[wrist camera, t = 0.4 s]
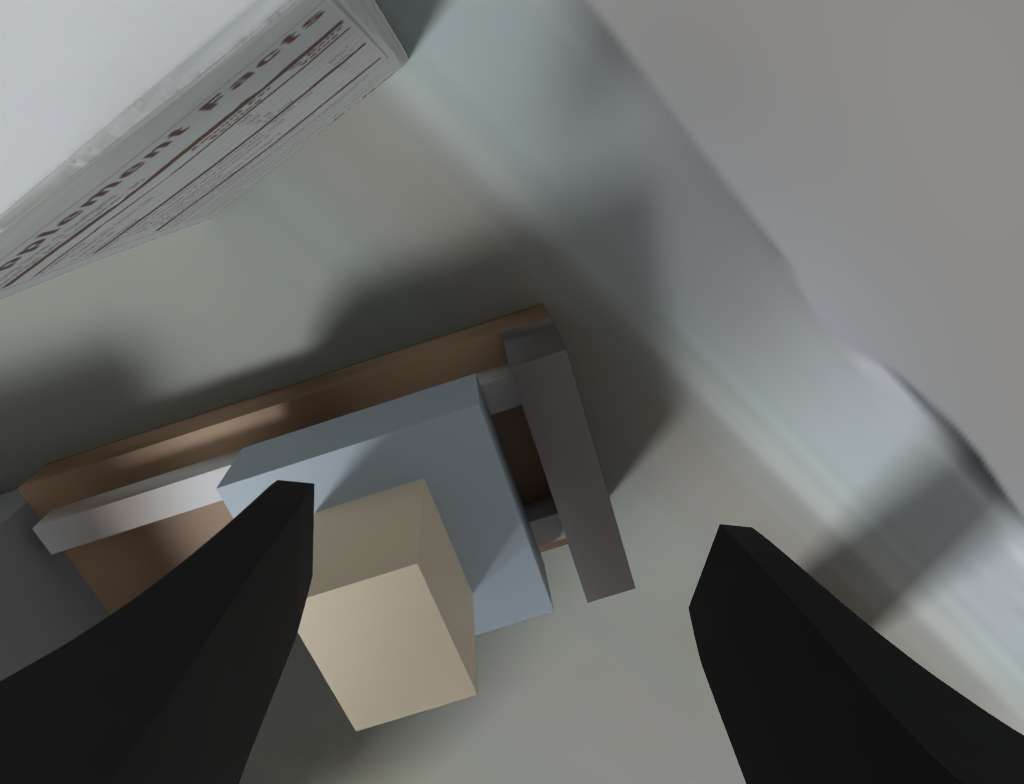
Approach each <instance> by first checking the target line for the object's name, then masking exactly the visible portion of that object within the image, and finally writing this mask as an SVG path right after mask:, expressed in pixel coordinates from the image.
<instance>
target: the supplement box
mask: <svg viewBox="0 0 1024 784" xmlns="http://www.w3.org/2000/svg"><path fill="white" fill-rule="evenodd" d="M407 60H408V56H407V54H406V52H405V50H404V48H403V47H402V45H401V43H400V42H399V40H398V38H397V37H396V35H395V33H394V31H393V30H392V28H391V26H390V25H389V23H388V21H387V20H386V18H385V16H384V15H383V13H382V11H381V10H380V8H379V6H378V5H377V3H376V2H375V0H0V299H2V298H5V297H7V296H10V295H12V294H15V293H17V292H20V291H22V290H25V289H27V288H30V287H32V286H34V285H37V284H39V283H42V282H44V281H47V280H49V279H52V278H54V277H57V276H59V275H62V274H64V273H66V272H69V271H71V270H74V269H76V268H79V267H81V266H84V265H86V264H89V263H92V262H95V261H98V260H100V259H103V258H105V257H108V256H111V255H113V254H116V253H118V252H121V251H124V250H127V249H129V248H132V247H135V246H138V245H140V244H143V243H145V242H148V241H150V240H155V239H157V238H158V237H161V236H164V235H167V234H169V233H172V232H175V231H178V230H181V229H183V228H186V227H189V226H192V225H195V224H198V223H200V222H202V221H205V220H207V219H210V218H212V217H213V216H215V215H216V214H218V213H219V212H220V211H221V210H222V209H223V208H224V207H225V206H227V205H228V204H229V203H231V202H232V201H233V200H234V199H236V198H237V197H238V196H239V195H241V194H242V193H243V192H244V191H246V190H247V189H248V188H249V187H251V186H252V185H253V184H254V183H256V182H257V181H258V180H260V179H261V178H262V177H263V176H265V175H266V174H267V173H269V172H270V171H271V170H273V169H274V168H275V167H276V166H278V165H279V164H280V163H282V162H283V161H284V160H285V159H287V158H288V157H289V156H290V155H292V154H293V153H294V152H296V151H297V150H298V149H299V148H301V147H302V146H303V145H304V144H306V143H307V142H308V141H309V140H311V139H312V138H313V137H315V136H316V135H317V134H318V133H320V132H321V131H322V130H323V129H325V128H326V127H327V126H328V125H330V124H331V123H332V122H334V121H335V120H336V119H337V118H339V117H340V116H341V115H342V114H344V113H345V112H346V111H347V110H349V109H350V108H351V107H353V106H354V105H355V104H356V103H358V102H359V101H360V100H361V99H363V98H364V97H365V96H366V95H368V94H369V93H370V92H371V91H373V90H374V89H375V88H377V87H378V86H379V85H380V84H382V83H383V82H384V81H385V80H387V79H388V78H389V77H390V76H391V75H393V74H394V73H395V72H396V71H398V70H399V69H400V68H401V67H402V66H403V65H404V64H405V63H406V62H407Z"/></svg>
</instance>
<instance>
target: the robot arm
mask: <svg viewBox="0 0 1024 784" xmlns="http://www.w3.org/2000/svg"><path fill="white" fill-rule="evenodd" d="M313 532H314V483H304V482H294V481H284V480H277V481H275V482H274V483H273V484H271V485H270V486H269V487H268V488H267V489H266V490H265V491H263V492H262V493H261V494H260V495H259V496H258V497H257V498H256V499H255V500H254V501H253V502H251V503H250V504H249V505H248V506H247V507H246V508H245V509H244V510H243V511H242V512H240V513H239V514H238V515H237V516H236V517H235V518H234V519H233V520H231V521H230V522H229V523H228V524H227V525H226V526H225V527H223V528H222V529H221V530H220V531H219V532H218V533H216V534H215V535H214V536H213V537H212V538H210V539H209V540H208V541H207V542H206V543H205V544H203V545H202V546H201V547H200V548H199V549H197V550H196V551H195V552H194V553H193V554H191V555H190V556H189V557H188V558H186V559H185V560H184V561H183V562H181V563H180V564H179V565H178V566H176V567H175V568H174V569H172V570H171V571H170V572H168V573H167V574H166V575H164V576H163V577H162V578H160V579H159V580H158V581H157V582H155V583H154V584H153V585H151V586H150V587H149V588H147V589H146V590H145V591H143V592H142V593H141V594H139V595H138V596H137V597H135V598H134V599H132V600H131V601H130V602H128V603H127V604H125V605H124V606H122V607H121V608H120V609H118V610H117V611H115V612H114V613H112V614H111V615H109V616H108V617H106V618H105V619H104V620H102V621H101V622H99V623H97V624H96V625H94V626H93V627H91V628H90V629H88V630H87V631H85V632H84V633H82V634H80V635H79V636H77V637H76V638H74V639H73V640H71V641H69V642H68V643H66V644H65V645H63V646H61V647H60V648H58V649H56V650H54V651H53V652H51V653H49V654H47V655H46V656H44V657H42V658H40V659H38V660H37V661H35V662H33V663H31V664H30V665H28V666H26V667H24V668H23V669H21V670H19V671H17V672H16V673H14V674H12V675H10V676H8V677H7V678H5V679H3V680H1V681H0V784H239V782H240V779H241V776H242V773H243V770H244V767H245V765H246V762H247V759H248V757H249V754H250V752H251V749H252V747H253V744H254V742H255V739H256V736H257V734H258V731H259V729H260V726H261V724H262V721H263V719H264V716H265V714H266V711H267V709H268V706H269V704H270V701H271V699H272V696H273V694H274V691H275V689H276V686H277V684H278V681H279V679H280V676H281V673H282V671H283V668H284V666H285V663H286V661H287V658H288V656H289V653H290V650H291V648H292V645H293V643H294V640H295V638H296V635H297V632H298V629H299V625H300V622H301V618H302V615H303V611H304V607H305V603H306V600H307V596H308V592H309V588H310V584H311V580H312V576H313ZM689 612H690V617H691V621H692V626H693V631H694V635H695V640H696V644H697V648H698V652H699V656H700V660H701V663H702V666H703V669H704V672H705V675H706V677H707V680H708V683H709V685H710V688H711V691H712V694H713V696H714V699H715V702H716V704H717V707H718V710H719V712H720V715H721V718H722V720H723V723H724V726H725V728H726V731H727V734H728V736H729V739H730V742H731V744H732V747H733V749H734V752H735V755H736V757H737V760H738V763H739V765H740V768H741V771H742V773H743V776H744V779H745V781H746V784H1024V735H1022V734H1020V733H1019V732H1017V731H1015V730H1014V729H1012V728H1011V727H1009V726H1008V725H1006V724H1004V723H1003V722H1001V721H1000V720H998V719H997V718H995V717H994V716H992V715H991V714H989V713H987V712H986V711H984V710H983V709H981V708H980V707H979V706H977V705H976V704H974V703H973V702H971V701H970V700H968V699H967V698H966V697H964V696H963V695H961V694H960V693H958V692H957V691H955V690H954V689H953V688H951V687H950V686H948V685H947V684H945V683H944V682H942V681H941V680H940V679H938V678H937V677H935V676H934V675H933V674H931V673H930V672H929V671H927V670H926V669H924V668H923V667H922V666H920V665H919V664H918V663H916V662H915V661H914V660H912V659H911V658H910V657H908V656H907V655H906V654H905V653H903V652H902V651H901V650H899V649H898V648H897V647H896V646H894V645H893V644H892V643H890V642H889V641H888V640H887V639H885V638H884V637H883V636H882V635H880V634H879V633H878V632H876V631H875V630H874V629H873V628H872V627H870V626H869V625H868V624H867V623H865V622H864V621H863V620H862V619H860V618H859V617H858V616H857V615H856V614H854V613H853V612H852V611H851V610H850V609H848V608H847V607H846V606H845V605H844V604H843V603H841V602H840V601H839V600H838V599H837V598H835V597H834V596H833V595H832V594H831V593H830V592H828V591H827V590H826V589H825V588H824V587H823V586H821V585H820V584H819V583H818V582H817V581H816V580H814V579H813V578H812V577H811V576H810V575H809V574H808V573H806V572H805V571H804V570H803V569H802V568H801V567H799V566H798V565H797V564H796V563H795V562H794V561H793V560H791V559H790V558H789V557H788V556H787V555H785V554H784V553H783V552H782V551H781V550H780V549H778V548H777V547H776V546H775V545H774V544H772V543H771V542H770V541H769V540H768V539H766V538H765V537H764V536H763V535H761V534H760V533H759V532H757V531H756V530H755V529H753V528H751V527H741V526H731V525H721V524H720V526H719V528H718V531H717V534H716V536H715V539H714V542H713V544H712V547H711V550H710V552H709V555H708V558H707V560H706V563H705V566H704V568H703V571H702V574H701V576H700V579H699V582H698V584H697V587H696V590H695V592H694V595H693V598H692V600H691V603H690V606H689Z"/></svg>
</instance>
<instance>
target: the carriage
mask: <svg viewBox="0 0 1024 784" xmlns="http://www.w3.org/2000/svg"><path fill="white" fill-rule="evenodd" d="M277 480H284V481H294V482H304V483H314V532H313V576H312V580H311V584H310V588H309V592H308V596H307V600H306V603H305V607H304V611H303V615H302V618H301V622H300V625H299V629H298V634H299V635H300V637H301V639H302V640H303V642H304V644H305V645H306V647H307V649H308V651H309V652H310V654H311V656H312V657H313V659H314V661H315V663H316V664H317V666H318V668H319V669H320V671H321V673H322V674H323V676H324V678H325V680H326V681H327V683H328V685H329V686H330V688H331V690H332V691H333V693H334V695H335V697H336V698H337V700H338V702H339V703H340V705H341V707H342V708H343V710H344V712H345V714H346V715H347V717H348V719H349V720H350V722H351V724H352V725H353V727H354V729H355V731H360V730H363V729H366V728H370V727H373V726H376V725H380V724H383V723H386V722H390V721H393V720H396V719H399V718H403V717H406V716H409V715H413V714H416V713H419V712H423V711H426V710H429V709H433V708H436V707H439V706H443V705H446V704H449V703H453V702H456V701H459V700H462V699H466V698H469V697H472V696H476V695H477V673H476V651H475V636H476V635H480V634H483V633H486V632H490V631H493V630H496V629H499V628H503V627H506V626H509V625H513V624H516V623H519V622H522V621H526V620H529V619H532V618H535V617H539V616H542V615H545V614H549V613H552V612H554V609H553V604H552V599H551V595H550V590H549V585H548V580H547V576H546V571H545V566H544V563H543V560H542V557H541V554H540V551H539V549H538V546H537V543H536V540H535V537H534V535H533V532H532V529H531V526H530V523H529V521H528V518H527V515H526V512H525V509H524V506H523V504H522V501H521V498H520V495H519V492H518V490H517V487H516V484H515V481H514V478H513V476H512V473H511V470H510V467H509V464H508V462H507V459H506V456H505V453H504V450H503V448H502V445H501V442H500V439H499V436H498V434H497V431H496V428H495V425H494V422H493V419H492V417H491V414H490V411H489V408H488V405H487V403H486V400H485V397H484V394H483V391H482V389H481V386H480V383H479V380H478V377H477V375H476V373H475V374H472V375H469V376H466V377H463V378H460V379H457V380H453V381H450V382H447V383H444V384H441V385H438V386H435V387H432V388H428V389H425V390H422V391H419V392H416V393H413V394H410V395H407V396H404V397H400V398H397V399H394V400H391V401H388V402H385V403H382V404H379V405H375V406H372V407H369V408H366V409H363V410H360V411H357V412H354V413H350V414H347V415H344V416H341V417H338V418H335V419H332V420H329V421H326V422H322V423H319V424H316V425H313V426H310V427H307V428H304V429H301V430H297V431H294V432H291V433H288V434H285V435H282V436H279V437H276V438H272V439H269V440H266V441H263V442H260V443H257V444H254V445H251V446H248V447H244V448H242V450H241V451H240V453H239V454H238V456H237V457H236V459H235V460H234V462H233V463H232V465H231V466H230V468H229V469H228V471H227V473H226V474H225V476H224V477H223V479H222V480H221V482H220V483H219V485H218V486H217V488H216V489H217V491H218V493H219V495H220V496H221V498H222V500H223V501H224V503H225V505H226V507H227V508H228V510H229V512H230V513H231V515H232V517H233V518H235V517H236V516H237V515H238V514H239V513H240V512H242V511H243V510H244V509H245V508H246V507H247V506H248V505H249V504H250V503H251V502H253V501H254V500H255V499H256V498H257V497H258V496H259V495H260V494H261V493H262V492H263V491H265V490H266V489H267V488H268V487H269V486H270V485H271V484H273V483H274V482H275V481H277Z"/></svg>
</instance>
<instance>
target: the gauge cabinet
mask: <svg viewBox="0 0 1024 784" xmlns="http://www.w3.org/2000/svg"><path fill="white" fill-rule="evenodd" d="M39 521H40V519H39V517H38V516H37V514H36V513H35V512H34V510H33V509H32V508H31V506H30V505H29V504H28V502H27V501H26V500H25V498H24V497H23V495H22V494H21V493H20V491H19V490H18V489H16V490H13V491H10V492H7V493H4V494H1V495H0V681H1V680H3V679H5V678H7V677H8V676H10V675H12V674H14V673H16V672H17V671H19V670H21V669H23V668H24V667H26V666H28V665H30V664H31V663H33V662H35V661H37V660H38V659H40V658H42V657H44V656H46V655H47V654H49V653H51V652H53V651H54V650H56V649H58V648H60V647H61V646H63V645H65V644H66V643H68V642H69V641H71V640H73V639H74V638H76V637H77V636H79V635H80V634H82V633H84V632H85V631H87V630H88V629H90V628H91V627H93V626H94V625H96V624H97V623H99V622H101V621H102V620H104V619H105V618H106V617H108V616H109V615H110V613H109V612H108V611H107V609H106V608H105V607H104V605H103V604H102V603H101V601H100V600H99V599H98V597H97V596H96V594H95V593H94V592H93V590H92V589H91V588H90V586H89V585H88V584H87V582H86V581H85V580H84V578H83V577H82V575H81V574H80V573H79V571H78V570H77V569H76V567H75V566H74V565H73V563H72V562H71V561H70V559H69V558H68V556H67V555H66V554H65V552H64V551H61V552H58V553H55V554H52V555H51V553H50V552H49V551H48V549H47V548H46V547H45V545H44V544H43V543H42V541H41V540H40V539H39V537H38V536H37V535H36V533H35V532H34V531H33V529H32V528H33V527H34V526H35V525H36V524H37V523H38V522H39Z"/></svg>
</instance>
